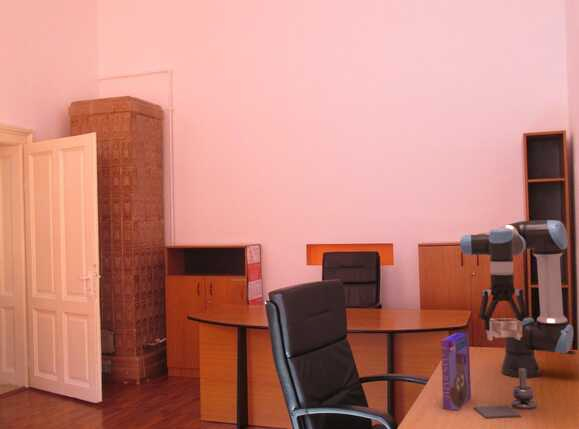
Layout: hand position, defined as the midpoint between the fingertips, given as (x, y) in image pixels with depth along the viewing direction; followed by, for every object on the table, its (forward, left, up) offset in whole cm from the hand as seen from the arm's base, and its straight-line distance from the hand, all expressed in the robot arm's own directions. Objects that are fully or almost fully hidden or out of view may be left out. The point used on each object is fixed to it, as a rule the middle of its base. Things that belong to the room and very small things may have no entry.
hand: (503, 339), depth 208 cm
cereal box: (+14, -10, -25) cm, 30 cm away
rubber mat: (+4, +2, -24) cm, 25 cm away
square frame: (0, 0, +2) cm, 2 cm away
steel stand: (-8, -4, -24) cm, 26 cm away
